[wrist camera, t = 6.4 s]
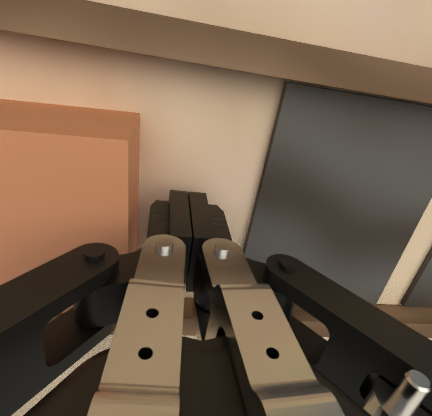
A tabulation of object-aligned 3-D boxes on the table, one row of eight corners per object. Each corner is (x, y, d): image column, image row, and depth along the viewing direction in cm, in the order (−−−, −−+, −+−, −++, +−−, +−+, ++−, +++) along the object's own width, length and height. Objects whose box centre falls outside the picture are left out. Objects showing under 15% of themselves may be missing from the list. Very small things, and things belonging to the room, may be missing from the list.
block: (-54, 92, 12) (-148, 116, 8) (139, 112, 13) (128, 140, 10) (-16, 248, 15) (-72, 312, 12) (137, 253, 16) (128, 312, 13)
